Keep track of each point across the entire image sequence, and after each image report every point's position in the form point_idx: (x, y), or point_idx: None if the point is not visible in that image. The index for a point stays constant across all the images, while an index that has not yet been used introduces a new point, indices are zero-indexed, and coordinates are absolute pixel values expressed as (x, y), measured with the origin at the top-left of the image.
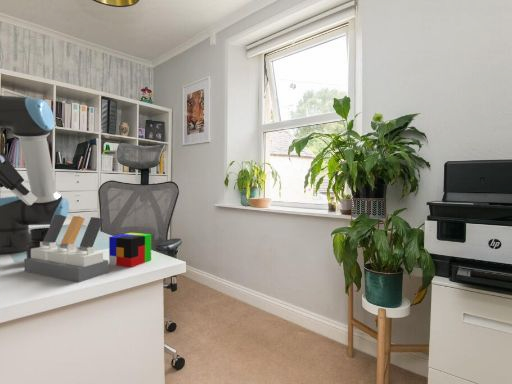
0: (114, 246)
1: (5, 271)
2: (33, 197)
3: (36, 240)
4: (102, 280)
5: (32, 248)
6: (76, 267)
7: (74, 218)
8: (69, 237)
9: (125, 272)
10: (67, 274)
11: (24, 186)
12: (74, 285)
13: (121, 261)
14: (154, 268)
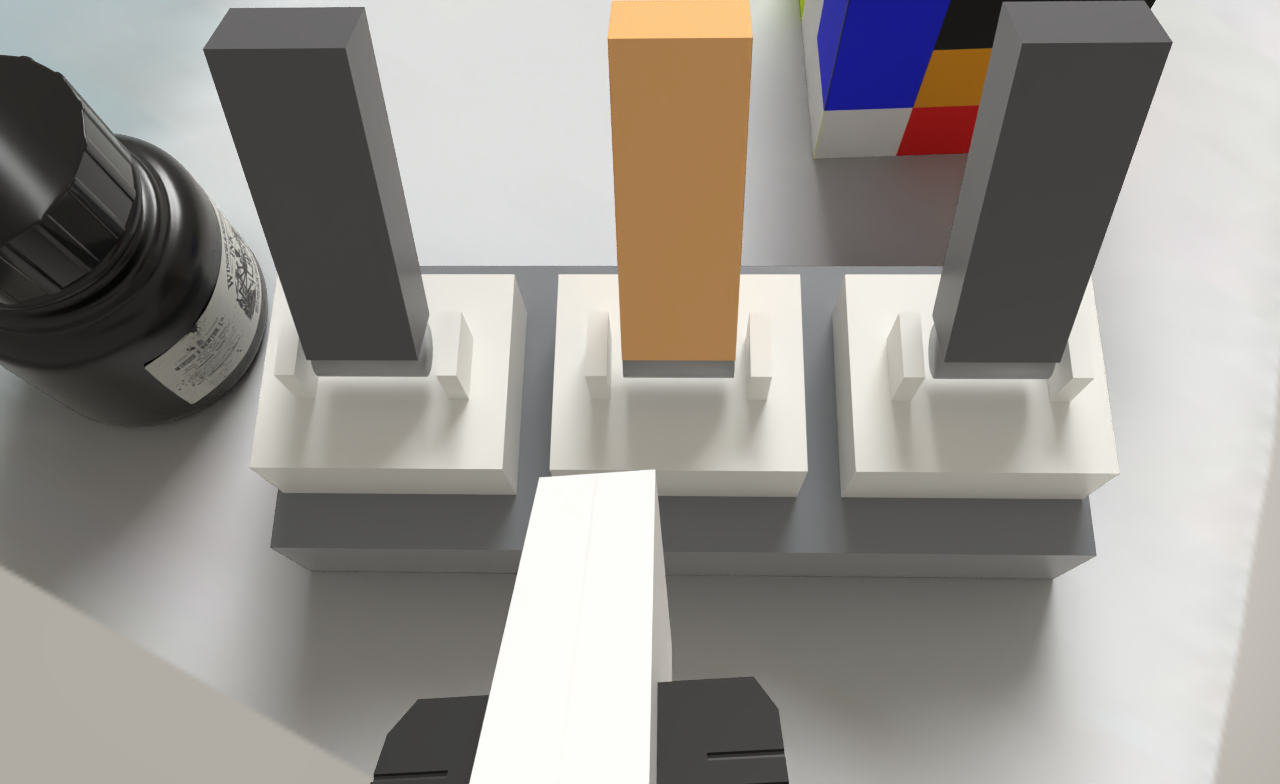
0: (907, 48)
1: (151, 643)
2: (660, 557)
3: (73, 295)
4: (1178, 471)
5: (107, 366)
6: (1040, 539)
7: (658, 73)
8: (725, 299)
9: (1146, 258)
10: (917, 567)
11: (650, 752)
12: (1100, 645)
13: (965, 129)
14: (1257, 97)
